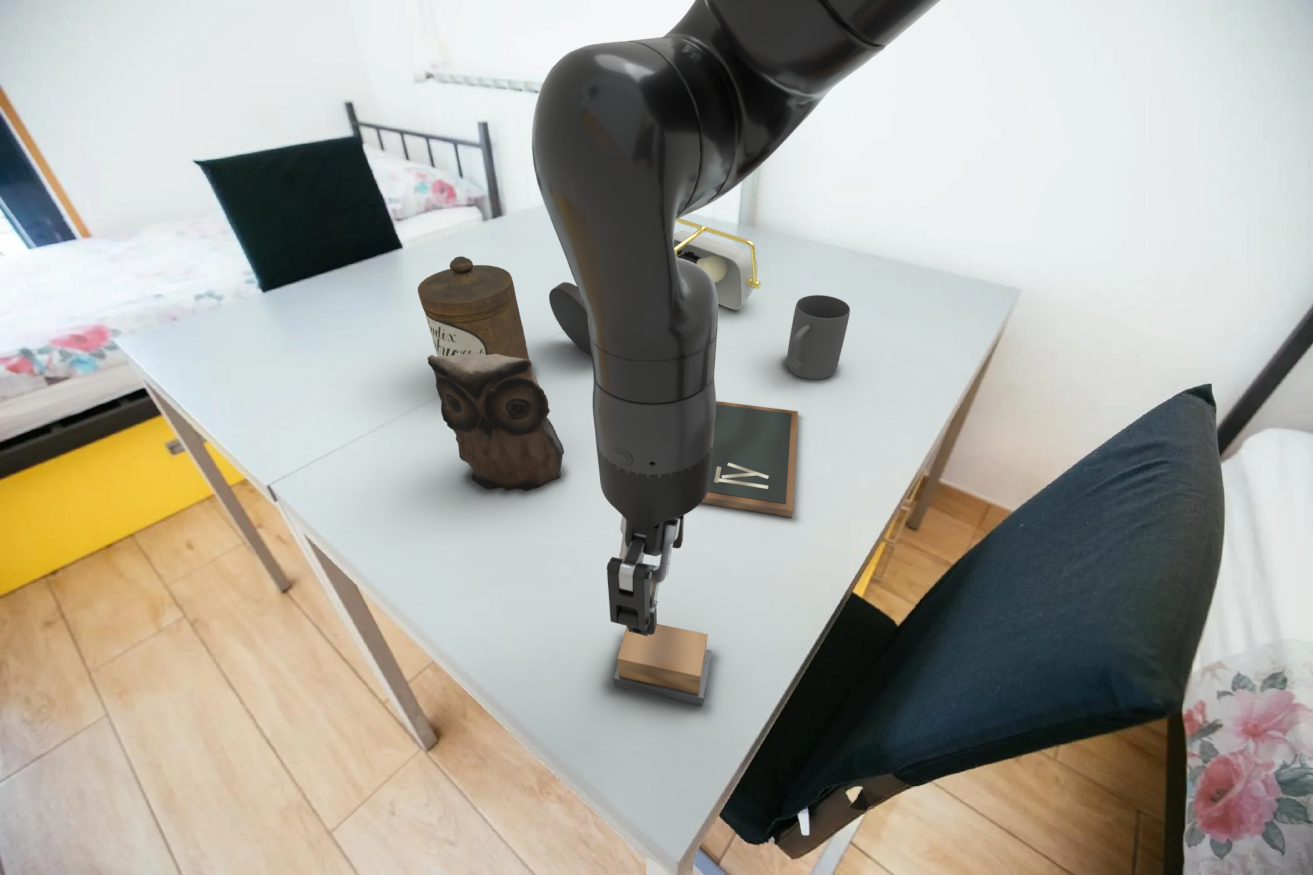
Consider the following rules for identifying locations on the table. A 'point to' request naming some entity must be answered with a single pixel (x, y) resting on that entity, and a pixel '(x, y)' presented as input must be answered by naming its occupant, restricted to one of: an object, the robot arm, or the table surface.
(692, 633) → the eraser
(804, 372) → the mug
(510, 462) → the owl
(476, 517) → the table surface
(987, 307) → the table surface
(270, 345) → the table surface
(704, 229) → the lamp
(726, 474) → the board
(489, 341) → the wooden container
